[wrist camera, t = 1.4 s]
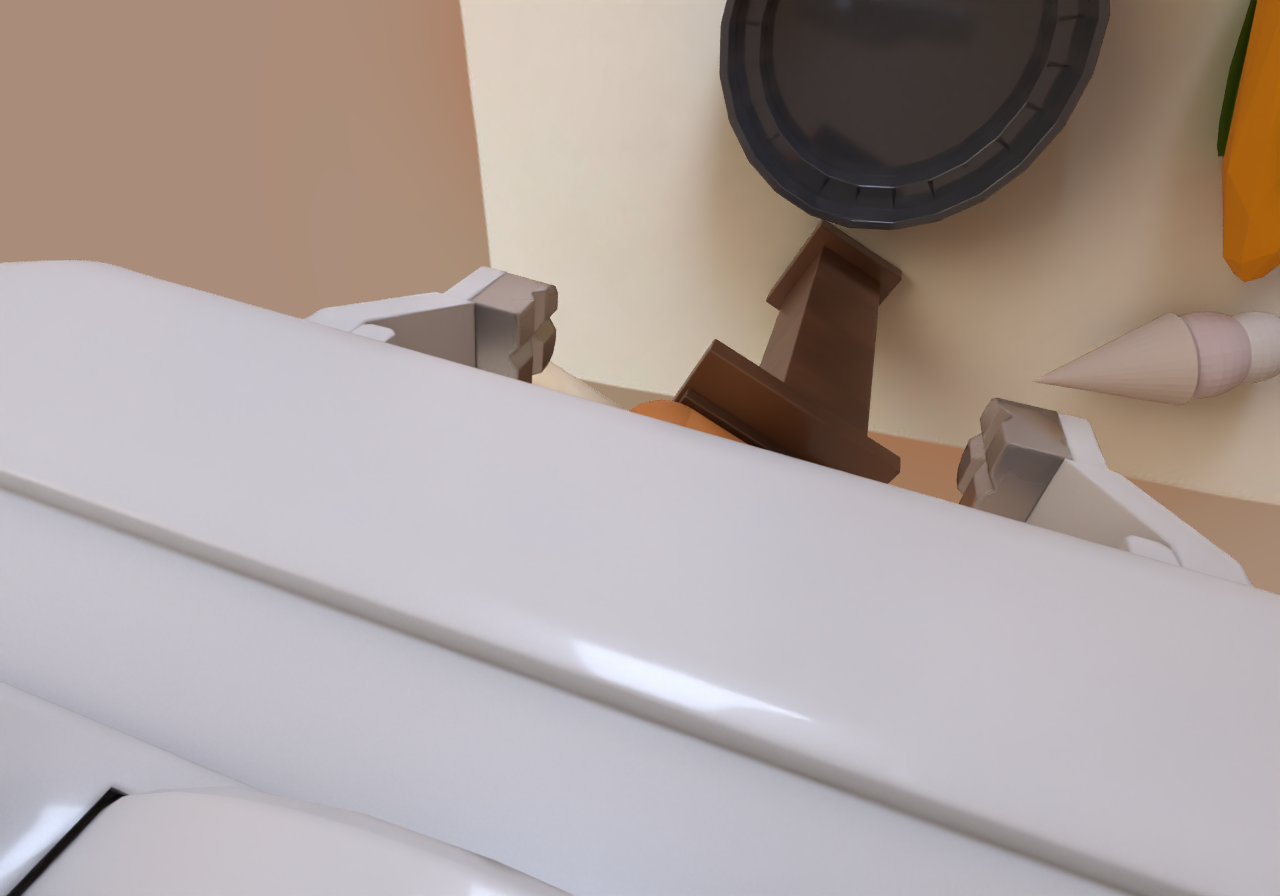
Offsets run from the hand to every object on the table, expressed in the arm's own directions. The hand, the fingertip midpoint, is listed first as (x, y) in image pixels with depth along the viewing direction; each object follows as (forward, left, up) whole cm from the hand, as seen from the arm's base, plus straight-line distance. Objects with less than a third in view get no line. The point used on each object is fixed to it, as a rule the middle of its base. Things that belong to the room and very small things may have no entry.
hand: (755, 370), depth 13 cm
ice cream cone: (+22, +16, -41) cm, 49 cm away
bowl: (-1, +2, -41) cm, 41 cm away
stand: (+13, -5, -41) cm, 43 cm away
